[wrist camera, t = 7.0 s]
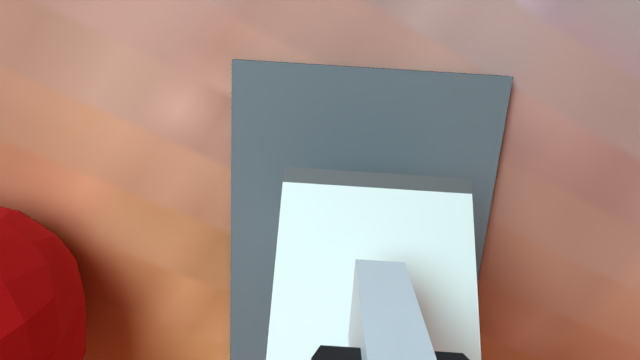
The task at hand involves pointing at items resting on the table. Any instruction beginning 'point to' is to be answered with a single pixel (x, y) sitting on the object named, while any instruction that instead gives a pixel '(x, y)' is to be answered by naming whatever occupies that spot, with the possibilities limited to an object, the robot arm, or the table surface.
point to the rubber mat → (346, 153)
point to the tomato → (38, 293)
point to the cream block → (371, 255)
